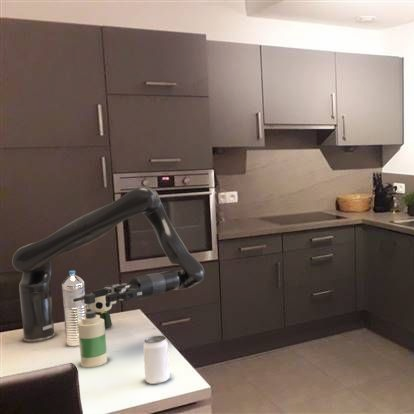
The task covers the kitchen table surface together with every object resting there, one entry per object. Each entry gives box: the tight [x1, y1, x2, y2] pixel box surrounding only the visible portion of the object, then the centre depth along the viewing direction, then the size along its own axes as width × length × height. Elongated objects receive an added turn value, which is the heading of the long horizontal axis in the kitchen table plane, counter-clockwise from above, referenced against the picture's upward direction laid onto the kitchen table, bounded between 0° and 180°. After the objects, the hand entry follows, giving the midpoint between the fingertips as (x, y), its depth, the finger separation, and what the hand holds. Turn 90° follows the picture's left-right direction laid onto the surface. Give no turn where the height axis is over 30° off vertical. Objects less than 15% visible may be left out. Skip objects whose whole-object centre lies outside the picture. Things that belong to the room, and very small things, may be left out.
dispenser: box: [78, 310, 108, 368], centre depth 167 cm, size 7×7×16 cm
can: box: [142, 335, 171, 385], centre depth 155 cm, size 6×6×12 cm
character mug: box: [86, 292, 117, 328], centre depth 200 cm, size 11×7×13 cm, turn 134°
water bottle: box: [61, 270, 88, 347], centre depth 184 cm, size 7×7×25 cm
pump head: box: [73, 293, 95, 308], centre depth 165 cm, size 6×3×4 cm, turn 142°
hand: (99, 296), depth 168 cm, fingers open, 8 cm apart
